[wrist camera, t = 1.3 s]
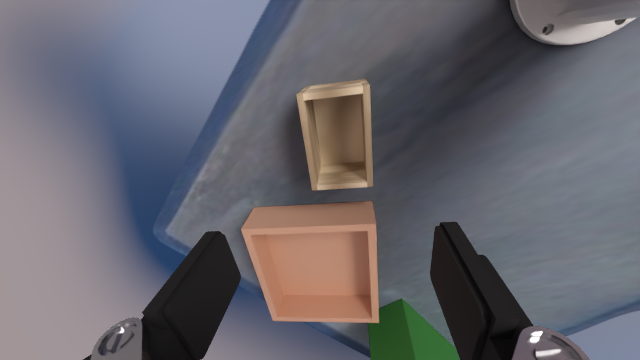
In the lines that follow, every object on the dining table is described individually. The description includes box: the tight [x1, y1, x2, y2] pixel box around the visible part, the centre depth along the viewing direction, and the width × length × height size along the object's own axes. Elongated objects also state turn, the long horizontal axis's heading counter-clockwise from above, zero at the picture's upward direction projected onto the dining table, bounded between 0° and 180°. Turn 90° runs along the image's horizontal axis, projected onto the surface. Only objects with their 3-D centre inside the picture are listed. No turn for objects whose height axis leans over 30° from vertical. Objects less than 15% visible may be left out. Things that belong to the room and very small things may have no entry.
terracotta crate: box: [241, 201, 379, 323], centre depth 36 cm, size 17×19×5 cm
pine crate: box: [296, 79, 373, 191], centre depth 26 cm, size 6×10×6 cm, turn 7°
